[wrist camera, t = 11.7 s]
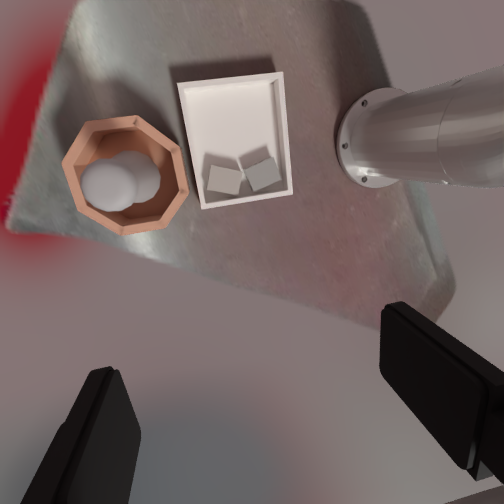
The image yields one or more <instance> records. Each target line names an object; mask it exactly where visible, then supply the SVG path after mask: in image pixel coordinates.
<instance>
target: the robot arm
mask: <svg viewBox="0 0 504 504" xmlns="http://www.w3.org/2000/svg"><path fill="white" fill-rule="evenodd" d="M361 103H362V104H361ZM342 144H343V148H342ZM337 155H338V160H339V162H340V165H341V167H342V169H343V171H344V172H345V174H346V175H347V176H348V177H349V178H350V179H351V180H352V181H354V182H355V183H357V184H359V185H362V186H365V187H370V188H380V187H386V186H388V185H391V184H393V183H395V182H397V181H398V180H400V179H402V180H411V181H420V182H429V183H439V184H447V185H456V186H466V187H477V188H497V187H504V65H501V66H498V67H495V68H491V69H488V70H485V71H482V72H479V73H475V74H472V75H469V76H465V77H462V78H459V79H455V80H452V81H449V82H446V83H442V84H439V85H435V86H432V87H429V88H425V89H422V90H419V91H415V92H412V93H409V94H408V93H406V92H404V91H402V90H400V89H396V88H380V89H376V90H373V91H371V92H368V93H367V94H365V95H363V96H362V97H360V98H359V99H358V100H357V101H355V102H354V103H353V104H352V106H351V107H350V108H349V109H348V111H347V112H346V114H345V116H344V117H343V119H342V121H341V124H340V127H339V130H338V135H337ZM361 179H362V180H361ZM379 367H380V372H381V374H382V376H383V378H384V379H385V380H386V381H387V382H388V384H389V385H390V386H391V387H392V388H393V390H394V391H395V392H396V393H397V394H398V396H399V397H400V398H401V399H402V400H403V401H404V403H405V404H406V405H407V406H408V407H409V409H410V410H411V411H412V412H413V413H414V415H415V416H416V417H417V418H418V419H419V420H420V422H421V423H422V424H423V425H424V426H425V428H426V429H427V430H428V431H429V432H430V434H432V436H433V437H434V438H435V439H436V441H437V442H438V443H439V444H440V446H441V447H442V448H443V449H444V450H445V451H446V453H447V454H448V455H449V456H450V457H451V459H452V460H453V461H454V462H455V463H456V464H457V466H458V467H460V468H461V469H464V470H465V469H466V470H467V472H468V473H469V474H470V475H471V476H472V477H473V479H474V480H475V481H479V480H481V479H485V478H488V477H491V476H493V474H494V475H495V477H496V478H497V479H498V480H499V481H500V482H501V483H502V486H499V487H496V488H493V489H489V490H486V491H482V492H479V493H476V494H473V495H470V496H467V497H464V498H461V499H458V500H454V501H452V502H448V503H445V504H504V372H503V371H501V370H500V369H498V368H497V367H496V366H494V365H493V364H491V363H490V362H489V361H487V360H486V359H484V358H483V357H481V356H480V355H478V354H477V353H476V352H474V351H473V350H472V349H470V348H469V347H467V346H466V345H464V344H463V343H462V342H460V341H459V340H457V339H456V338H454V337H453V336H452V335H450V334H449V333H447V332H446V331H445V330H443V329H441V328H440V327H439V326H437V325H436V324H435V323H433V322H432V321H430V320H429V319H428V318H426V317H425V316H423V315H422V314H420V313H419V312H418V311H416V310H415V309H413V308H412V307H410V306H409V305H408V304H406V303H405V302H403V301H400V302H395V303H391V304H387V305H385V307H384V309H383V310H382V311H381V331H380V363H379ZM140 441H141V430H140V426H139V423H138V421H137V418H136V415H135V412H134V410H133V407H132V404H131V402H130V399H129V396H128V393H127V390H126V388H125V385H124V382H123V380H122V377H121V374H120V372H119V370H117V369H116V370H114V369H113V368H112V367H111V366H109V367H104V368H100V369H96V370H92V371H91V372H90V373H89V375H88V377H87V379H86V381H85V383H84V385H83V387H82V389H81V391H80V393H79V395H78V397H77V399H76V401H75V403H74V405H73V407H72V409H71V411H70V413H69V415H68V417H67V419H66V421H65V422H64V423H63V424H62V425H61V426H60V428H59V429H58V431H57V433H56V435H55V437H54V439H53V441H52V443H51V444H50V446H49V448H48V451H47V452H46V454H45V456H44V458H43V460H42V462H41V464H40V466H39V468H38V470H37V472H36V474H35V476H34V478H33V480H32V482H31V484H30V486H29V488H28V489H27V492H26V493H25V495H24V497H23V499H22V501H21V503H20V504H128V501H129V496H130V491H131V486H132V481H133V476H134V471H135V466H136V461H137V456H138V451H139V446H140Z"/></svg>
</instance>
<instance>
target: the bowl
mask: <svg viewBox="0 0 504 504" xmlns="http://www.w3.org/2000/svg"><path fill="white" fill-rule="evenodd" d="M122 151H138V152H141V153H143V154H145V155H148V156H149V157H150V158H151V160H152V161H153V162H154V163H155V164H156V165H157V168H158V170H159V173H160V176H161V178H160V186H159V189H158V191H157V192H156V194H155V195H154V197H153V198H151V199H149V200H147V201H145V202H143V203H133V204H132V205H131V206H129V207H127V208H125V209H124V210H122V211H111V212H106V211H103V210H101V209H98V208H96V207H94V206H93V205H92V204H91V203H89V202H88V201H87V200H86V199H85V197H84V195H83V193H82V190H81V188H80V176H81V174H82V172H83V171H84V169H85V168H86V166H87V165H88V164H90V163H92V162H94V161H96V160H97V159H111V158H112V157H113V156H115V155H116V154H118V153H120V152H122ZM61 164H62V166H63V169H64V172H65V175H66V178H67V181H68V184H69V187H70V189H71V192H72V195H73V198H74V201H75V204H76V207H77V210H78V211H79V212H81V213H83V214H85V215H86V216H88V217H90V218H91V219H93V220H95V221H97V222H98V223H100V224H102V225H103V226H105V227H107V228H109V229H110V230H112V231H114V232H115V233H117V234H119V235H120V236H122V235H128V234H134V233H140V232H145V231H151V230H157V229H163V228H166V226H167V225H168V223H169V222H170V220H171V219H172V217H173V216H174V214H175V213H176V211H177V210H178V209H179V207H180V206H181V204H182V203H183V201H184V200H185V198H186V197H187V195H188V194H189V191H190V187H189V183H188V178H187V173H186V167H185V163H184V158H183V153H182V148H181V147H180V146H178V145H177V144H176V143H174V142H173V141H172V140H170V139H169V138H168V137H166V136H165V135H164V134H162V133H161V132H160V131H158V130H157V129H156V128H154V127H153V126H152V125H150V124H149V123H148V122H146V121H145V120H144V119H142V118H141V117H139V116H138V115H133V116H125V117H117V118H108V119H100V120H91V121H86V122H85V124H84V125H83V127H82V129H81V130H80V132H79V134H78V135H77V137H76V139H75V141H74V142H73V144H72V146H71V147H70V149H69V151H68V152H67V154H66V156H65V157H64V159H63V161H62V163H61Z"/></svg>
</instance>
